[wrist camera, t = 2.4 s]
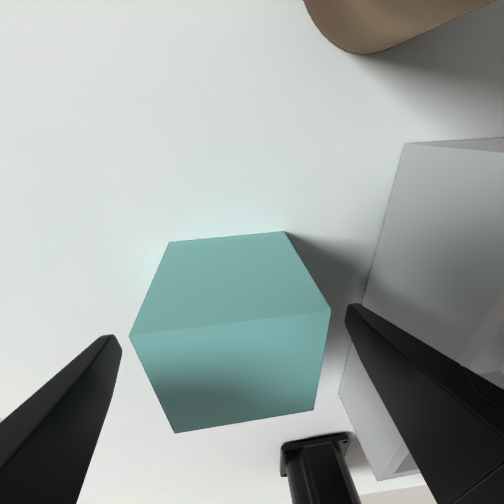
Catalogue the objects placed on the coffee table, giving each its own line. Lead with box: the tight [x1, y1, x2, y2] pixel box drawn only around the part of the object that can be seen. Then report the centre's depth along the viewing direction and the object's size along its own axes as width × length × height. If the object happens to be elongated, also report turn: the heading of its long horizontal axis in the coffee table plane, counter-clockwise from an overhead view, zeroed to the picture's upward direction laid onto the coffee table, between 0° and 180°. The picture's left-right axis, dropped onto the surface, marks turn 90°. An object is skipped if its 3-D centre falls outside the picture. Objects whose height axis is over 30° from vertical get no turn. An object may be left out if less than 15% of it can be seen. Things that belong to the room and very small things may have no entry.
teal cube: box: [129, 231, 331, 433], centre depth 9 cm, size 5×5×5 cm
